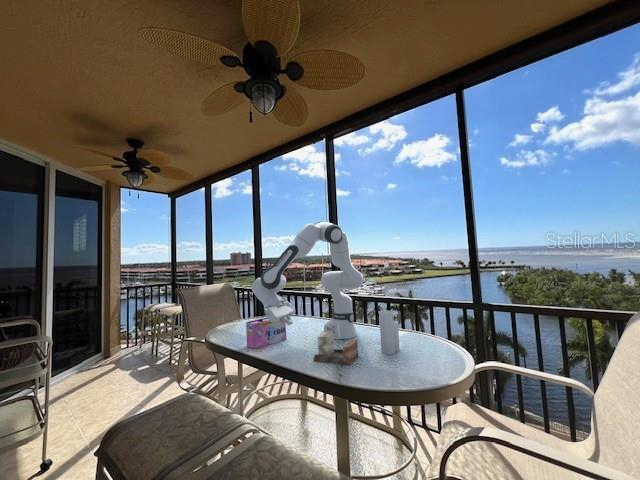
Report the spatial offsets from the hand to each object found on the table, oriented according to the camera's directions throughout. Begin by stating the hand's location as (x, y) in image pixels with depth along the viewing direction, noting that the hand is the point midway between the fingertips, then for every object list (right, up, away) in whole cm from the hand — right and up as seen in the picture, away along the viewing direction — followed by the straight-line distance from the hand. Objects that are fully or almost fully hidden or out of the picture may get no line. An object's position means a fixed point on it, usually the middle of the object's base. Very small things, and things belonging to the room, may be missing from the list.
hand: (291, 324), depth 150 cm
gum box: (-16, -17, +20) cm, 31 cm away
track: (+23, -14, -10) cm, 28 cm away
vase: (+50, -13, -3) cm, 51 cm away
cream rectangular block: (+18, -12, -8) cm, 23 cm away
